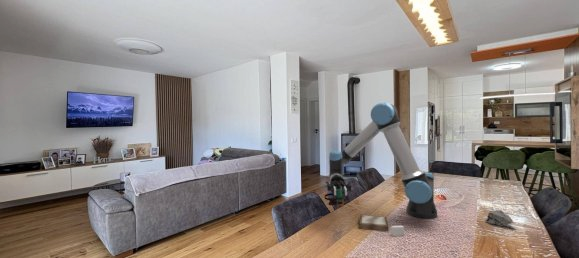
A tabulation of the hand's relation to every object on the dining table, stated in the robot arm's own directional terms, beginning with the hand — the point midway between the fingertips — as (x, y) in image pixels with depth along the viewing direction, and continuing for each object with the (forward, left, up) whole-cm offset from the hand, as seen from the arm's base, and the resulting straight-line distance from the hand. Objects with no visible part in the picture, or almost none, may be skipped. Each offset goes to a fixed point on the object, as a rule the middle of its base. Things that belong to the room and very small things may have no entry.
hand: (340, 192), depth 118 cm
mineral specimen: (-74, -26, -18) cm, 80 cm away
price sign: (-25, -1, -18) cm, 31 cm away
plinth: (-15, -10, -18) cm, 25 cm away
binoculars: (+3, -4, -7) cm, 9 cm away
